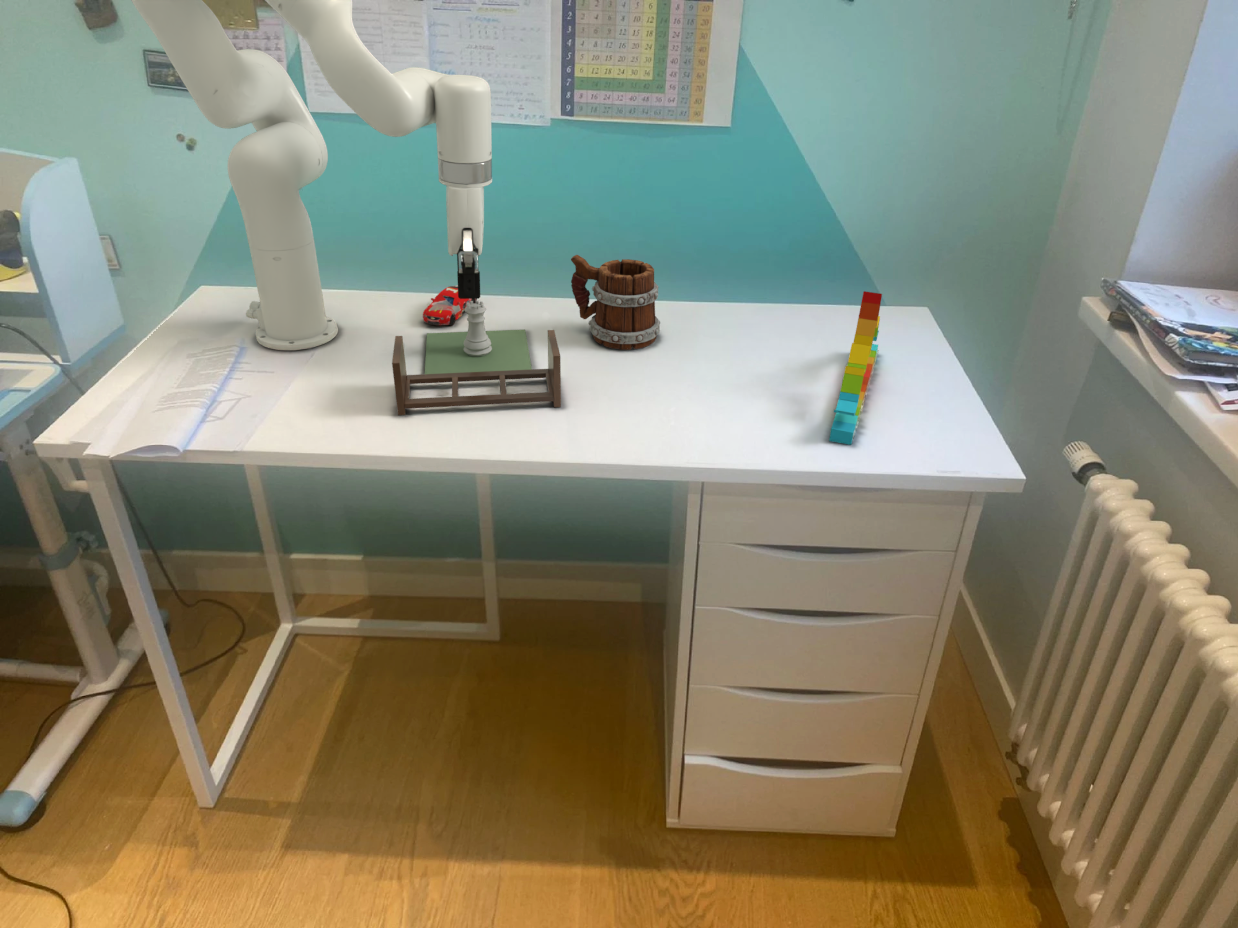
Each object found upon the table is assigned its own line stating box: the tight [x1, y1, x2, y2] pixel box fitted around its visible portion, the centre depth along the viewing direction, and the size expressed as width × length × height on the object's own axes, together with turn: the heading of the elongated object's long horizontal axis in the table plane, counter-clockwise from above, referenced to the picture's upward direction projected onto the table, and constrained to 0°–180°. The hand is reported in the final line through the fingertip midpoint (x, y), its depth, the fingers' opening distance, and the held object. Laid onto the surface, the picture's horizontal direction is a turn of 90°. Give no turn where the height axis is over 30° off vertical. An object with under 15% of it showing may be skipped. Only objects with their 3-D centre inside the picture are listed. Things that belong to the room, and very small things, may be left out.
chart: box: [828, 290, 883, 446], centre depth 132 cm, size 30×3×15 cm, turn 160°
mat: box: [424, 329, 533, 374], centre depth 144 cm, size 16×16×1 cm
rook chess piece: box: [464, 300, 492, 357], centre depth 142 cm, size 4×4×8 cm
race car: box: [422, 284, 478, 326], centre depth 157 cm, size 13×5×4 cm, turn 161°
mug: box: [570, 254, 661, 351], centre depth 148 cm, size 12×14×15 cm
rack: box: [391, 329, 562, 416], centre depth 130 cm, size 9×23×8 cm, turn 99°
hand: (468, 285), depth 139 cm, fingers open, 9 cm apart
